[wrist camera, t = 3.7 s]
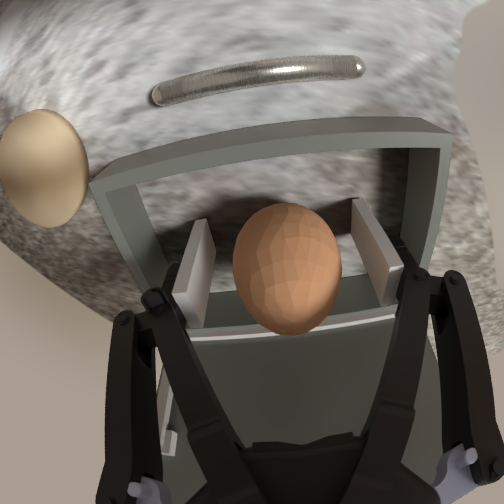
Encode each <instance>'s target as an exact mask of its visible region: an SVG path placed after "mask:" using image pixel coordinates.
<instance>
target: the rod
mask: <svg viewBox="0 0 504 504" xmlns="http://www.w3.org/2000/svg"><path fill="white" fill-rule="evenodd" d="M365 70H366V67H365V64H364V62H363V61H362V59H360V58H359V57H357V56H354V55H315V56H298V57H286V58H276V59H267V60H260V61H253V62H246V63H240V64H235V65H229V66H224V67H219V68H215V69H210V70H206V71H202V72H198V73H194V74H190V75H186V76H182V77H179V78H175V79H172V80H169V81H165V82H162V83H160V84H158V85H157V86H156V87H155V88H154V89H153V92H152V99H153V101H154V102H155V103H156V104H157V105H159V106H168V105H172V104H175V103H179V102H183V101H186V100H190V99H194V98H198V97H203V96H207V95H211V94H216V93H221V92H226V91H231V90H237V89H242V88H248V87H255V86H262V85H269V84H277V83H286V82H297V81H310V80H330V79H358V78H361V77H362V76H363V75H364V73H365Z"/></svg>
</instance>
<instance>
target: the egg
mask: <svg viewBox="0 0 504 504" xmlns="http://www.w3.org/2000/svg"><path fill="white" fill-rule="evenodd" d="M341 274H342V265H341V257H340V251H339V248H338V245H337V242H336V239H335V236H334V235H333V233H332V231H331V229H330V228H329V226H328V225H327V224H326V222H325V221H324V220H323V219H322V218H321V217H320V216H319V215H317V214H316V213H315V212H313V211H312V210H310V209H308V208H306V207H304V206H301V205H298V204H294V203H278V204H273V205H270V206H268V207H265V208H262V209H261V210H259V211H258V212H256V213H255V214H254V215H252V216H251V217H250V218H249V219H248V221H247V222H246V223H245V224H244V226H243V227H242V229H241V231H240V233H239V235H238V236H237V240H236V244H235V248H234V253H233V276H234V281H235V285H236V288H237V292H238V293H239V295H240V297H241V299H242V301H243V303H244V305H245V307H246V309H247V311H248V312H249V313H250V314H251V315H252V317H253V318H254V319H255V320H256V321H257V323H258V324H260V325H261V326H263V327H264V328H266V329H268V330H269V331H271V332H273V333H275V334H278V335H285V336H296V335H300V334H304V333H307V332H309V331H310V330H312V329H314V328H315V327H317V326H318V325H319V324H320V323H321V322H322V321H323V320H324V319H325V318H326V317H327V316H328V314H329V312H330V310H331V308H332V306H333V304H334V302H335V300H336V297H337V295H338V291H339V286H340V282H341Z"/></svg>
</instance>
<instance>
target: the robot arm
mask: <svg viewBox="0 0 504 504" xmlns="http://www.w3.org/2000/svg"><path fill="white" fill-rule="evenodd" d="M351 236H352V238H353V240H354V242H355V244H356V247H357V249H358V251H359V253H360V256H361V258H362V260H363V263H364V265H365V267H366V270H367V272H368V274H369V277H370V279H371V282H372V284H373V287H374V289H375V292H376V294H377V297H378V300H379V302H380V305H381V306H386V305H392V304H394V302H395V298H397V300H398V302H399V303H398V306H397V310H396V313H395V316H394V317H395V321H394V326H393V331H392V335H391V340H390V344H389V348H388V352H387V356H386V360H385V364H384V368H383V371H382V375H381V378H380V382H379V385H378V388H377V392H376V395H375V398H374V401H373V404H372V407H371V410H370V413H369V415H368V418H367V421H366V423H365V425H364V427H363V429H362V432H361V434H360V436H353V432H348V433H342V434H336V435H330V436H327V437H324V438H321V439H319V440H316V441H313V442H311V443H308V444H305V445H299V444H292V443H285V442H279V441H270V442H252V447H248V448H245V446H244V444H243V443H242V441H241V440H240V438H239V437H238V435H237V434H236V432H235V430H234V428H233V426H232V425H231V423H230V421H229V419H228V417H227V415H226V413H225V411H224V409H223V408H222V406H221V404H220V402H219V400H218V398H217V396H216V394H215V392H214V390H213V388H212V386H211V383H210V381H209V379H208V377H207V375H206V373H205V371H204V369H203V367H202V364H201V362H200V360H199V358H198V356H197V353H196V351H195V349H194V347H193V344H192V342H191V340H190V337H189V335H188V333H187V331H186V329H185V327H186V323H187V324H188V325H189V327H190V328H203V326H204V320H205V314H206V308H207V302H208V296H209V290H210V285H211V279H212V273H213V268H214V262H215V257H216V252H217V251H216V248H215V245H214V241H213V238H212V235H211V232H210V228H209V225H208V222H207V218H205V219H199V220H195V223H194V226H193V228H192V231H191V234H190V237H189V240H188V243H187V246H186V249H185V252H184V255H183V258H182V262H181V263H173V264H172V265H171V266H170V267H169V269H168V270H167V273H166V277H165V279H164V282H163V284H162V287H153V288H150V289H148V290H147V291H146V292H145V293H144V294H143V295H142V297H141V303H142V304H143V306H144V307H145V309H146V311H145V312H142V313H139V314H136V315H135V314H134V313H133V312H132V311H130V310H125V311H122V312H120V313H119V314H118V315H117V316H116V317H115V319H114V322H113V329H112V336H111V344H110V352H109V362H108V373H107V385H106V402H105V464H104V467H103V471H102V474H101V478H100V482H99V486H98V490H97V494H96V504H172V501H171V493H170V490H169V488H168V487H167V486H166V485H165V484H164V483H163V462H162V454H161V445H160V435H159V424H158V411H157V394H156V369H155V368H156V367H155V347H158V350H159V353H160V356H161V360H162V363H163V366H164V369H165V372H166V375H167V378H168V381H169V384H170V386H171V389H172V392H173V395H174V397H175V400H176V403H177V405H178V408H179V410H180V413H181V415H182V418H183V420H184V423H185V425H186V428H187V431H188V433H187V439H188V442H189V444H190V447H191V449H192V451H193V453H194V455H195V458H196V460H197V462H198V464H199V466H200V468H201V470H202V472H203V474H204V476H205V478H206V480H207V482H206V483H205V484H204V485H203V486H202V487H201V488H200V489H199V490H198V491H197V492H196V493H195V494H194V495H193V496H192V497H191V498H190V499H189V500H188V501H187V502H186V503H185V504H451V503H453V502H454V501H456V500H458V499H459V498H461V497H463V496H464V495H466V494H467V493H469V492H470V491H472V490H473V489H475V488H476V487H479V486H483V485H487V484H490V483H493V482H496V481H497V480H499V479H500V478H501V477H502V476H503V475H504V443H503V440H502V437H501V434H500V431H499V428H498V425H497V423H496V418H495V406H494V397H493V388H492V382H491V375H490V369H489V364H488V359H487V354H486V349H485V345H484V340H483V336H482V332H481V328H480V325H479V321H478V317H477V314H476V311H475V307H474V304H473V301H472V298H471V295H470V292H469V289H468V286H467V283H466V281H465V278H464V277H463V275H462V274H461V273H459V272H457V271H454V270H449V271H447V272H445V274H444V277H436V276H430V274H429V273H428V271H426V270H425V269H423V268H421V267H419V266H418V265H417V263H416V261H415V260H414V258H413V256H412V255H411V253H410V252H409V250H408V248H407V247H406V245H405V244H404V242H403V240H402V239H400V238H399V237H398V236H396V235H391V236H387V235H386V233H385V232H384V230H383V228H382V227H381V225H380V224H379V222H378V221H377V219H376V217H375V216H374V214H373V213H372V211H371V210H370V208H369V207H368V205H367V204H366V202H365V201H364V199H363V198H361V199H352V221H351ZM429 314H431V318H432V323H433V329H434V335H435V342H436V349H437V357H438V366H439V376H440V389H441V413H442V448H443V455H442V456H441V458H440V459H439V461H438V464H437V467H436V471H437V475H436V478H435V480H434V482H433V483H432V484H431V485H429V484H428V483H427V482H425V481H424V480H423V479H421V478H420V477H419V476H417V475H416V474H415V473H414V472H412V471H411V470H410V469H409V468H407V467H406V466H405V465H403V464H402V463H401V460H402V457H403V454H404V451H405V448H406V445H407V442H408V439H409V436H410V432H411V429H412V425H413V422H414V418H415V409H414V403H415V399H416V394H417V390H418V385H419V380H420V375H421V369H422V364H423V357H424V351H425V344H426V336H427V327H428V316H429Z"/></svg>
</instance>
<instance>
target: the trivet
mask: <svg viewBox="0 0 504 504" xmlns="http://www.w3.org/2000/svg"><path fill="white" fill-rule="evenodd" d="M0 180H1V183H2V186H3V189H4V191H5V193H6V195H7V197H8V199H9V201H10V202H11V204H12V205H13V206H14V208H15V209H16V210H17V211H18V212H19V213H20V214H21V215H22V216H23V217H24V218H26V219H27V220H28V221H30V222H32V223H33V224H36V225H38V226H41V227H47V228H53V227H58V226H60V225H63V224H64V223H66V222H67V221H68V220H69V219H70V218H71V217H72V216H73V215H74V214H75V213H76V212H77V211H78V209H79V208H80V207H81V206H82V204H83V202H84V200H85V197H86V195H87V191H88V186H89V185H88V183H89V164H88V159H87V155H86V151H85V148H84V146H83V143H82V141H81V139H80V137H79V135H78V133H77V132H76V130H75V129H74V127H73V126H72V125H71V124H70V123H69V122H68V121H67V120H66V119H65V118H64V117H63V116H61V115H60V114H58V113H56V112H54V111H51V110H47V109H38V110H34V111H31V112H28V113H26V114H24V115H21V116H19V117H18V118H16V119H14V120H13V121H12V122H11V123H10V124H9V126H8V127H7V128H6V130H5V132H4V133H3V136H2V138H1V141H0Z"/></svg>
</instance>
